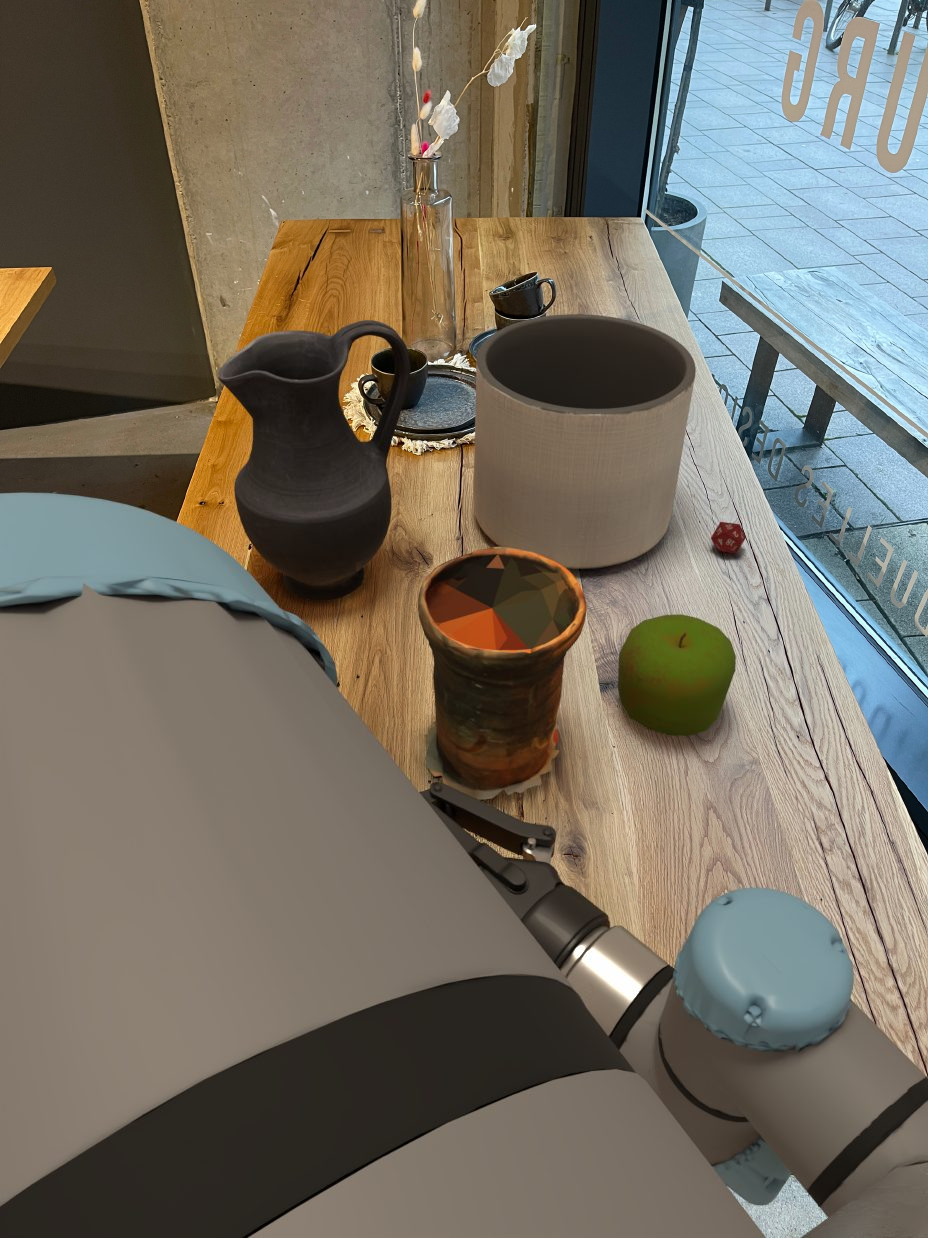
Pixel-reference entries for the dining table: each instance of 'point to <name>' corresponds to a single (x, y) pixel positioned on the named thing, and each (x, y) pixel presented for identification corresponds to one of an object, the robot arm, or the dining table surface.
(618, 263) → the dining table surface
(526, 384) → the planter
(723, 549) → the dice
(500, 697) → the vessel
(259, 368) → the pitcher
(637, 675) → the apple
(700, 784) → the dining table surface
